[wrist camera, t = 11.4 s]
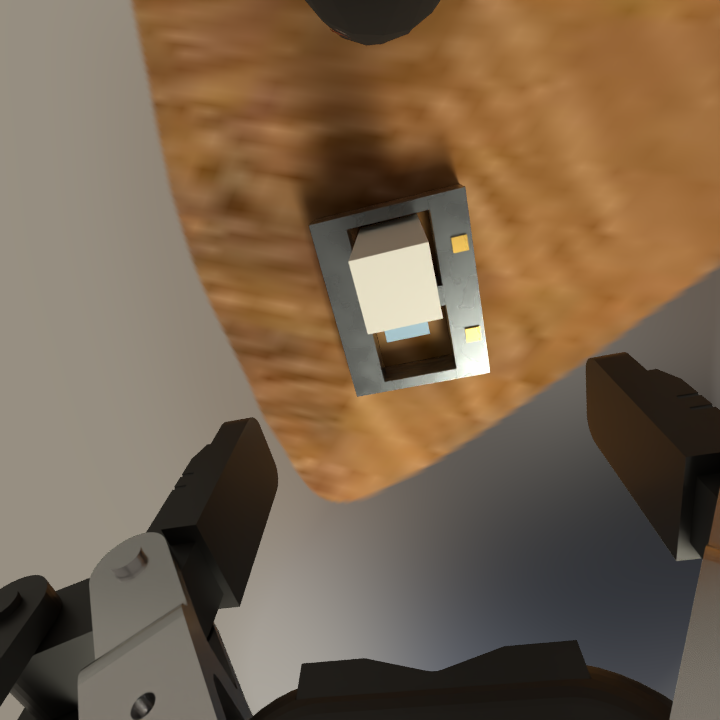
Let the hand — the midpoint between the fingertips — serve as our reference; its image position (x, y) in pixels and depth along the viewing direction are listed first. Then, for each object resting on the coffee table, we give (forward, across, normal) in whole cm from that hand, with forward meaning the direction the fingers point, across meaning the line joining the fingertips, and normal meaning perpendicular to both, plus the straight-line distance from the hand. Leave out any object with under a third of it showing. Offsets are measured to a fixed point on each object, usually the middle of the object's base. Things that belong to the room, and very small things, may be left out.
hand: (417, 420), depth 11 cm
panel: (+23, 0, +4) cm, 23 cm away
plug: (+23, 0, +1) cm, 23 cm away
